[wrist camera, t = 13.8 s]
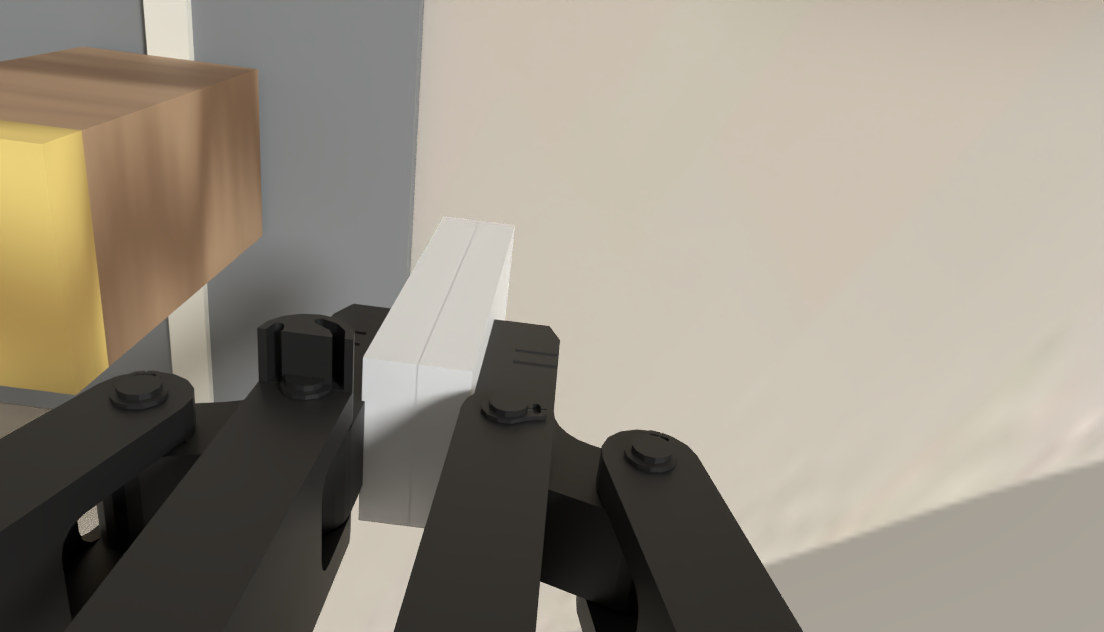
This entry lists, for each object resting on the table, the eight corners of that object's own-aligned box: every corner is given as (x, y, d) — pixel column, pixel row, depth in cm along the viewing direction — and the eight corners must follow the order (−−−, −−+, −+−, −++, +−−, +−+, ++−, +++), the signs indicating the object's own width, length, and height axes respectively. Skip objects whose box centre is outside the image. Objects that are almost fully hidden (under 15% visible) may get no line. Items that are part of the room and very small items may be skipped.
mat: (-342, -315, 21) (-380, -326, 20) (434, -214, 21) (428, -220, 20) (-159, 372, 29) (-181, 384, 28) (401, 443, 29) (395, 457, 28)
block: (82, 46, 23) (-247, 107, 14) (258, 68, 23) (42, 144, 14) (101, 215, 25) (-177, 363, 16) (262, 235, 25) (75, 395, 16)
